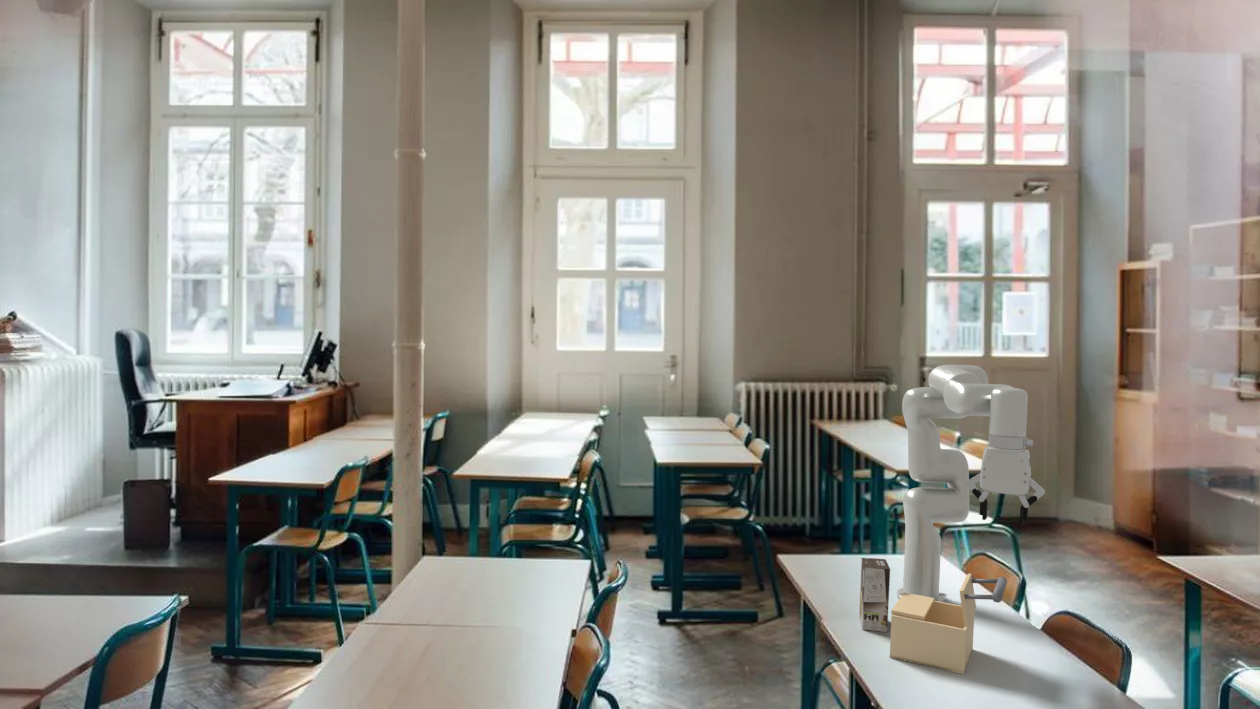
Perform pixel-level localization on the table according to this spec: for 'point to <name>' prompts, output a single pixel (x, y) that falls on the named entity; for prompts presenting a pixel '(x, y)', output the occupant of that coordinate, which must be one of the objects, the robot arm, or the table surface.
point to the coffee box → (874, 594)
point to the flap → (969, 596)
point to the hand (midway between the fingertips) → (1003, 520)
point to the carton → (930, 633)
